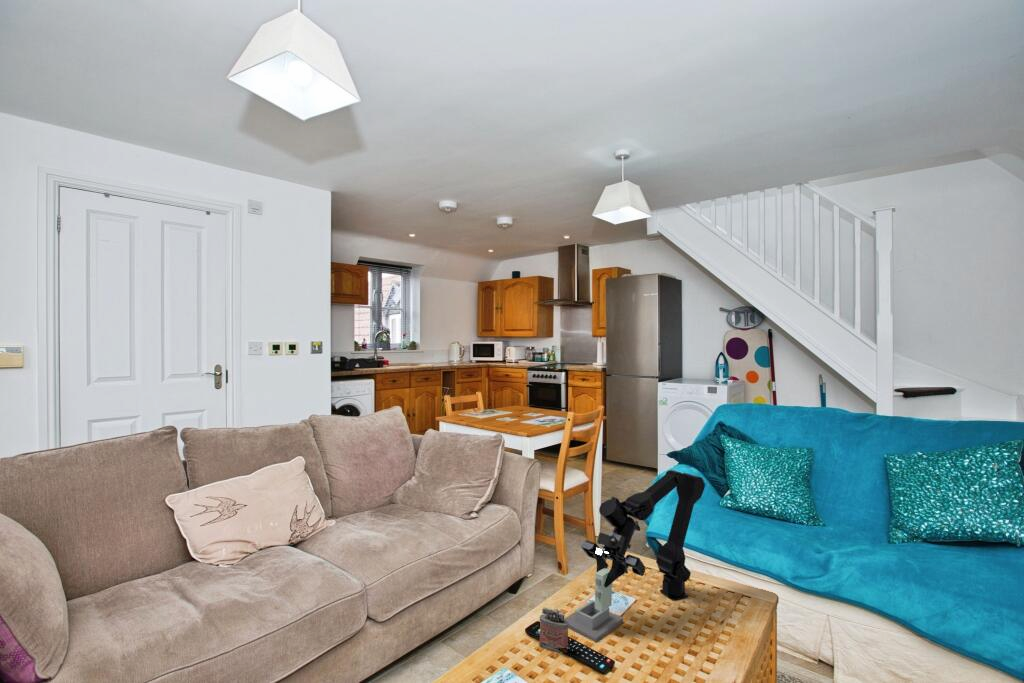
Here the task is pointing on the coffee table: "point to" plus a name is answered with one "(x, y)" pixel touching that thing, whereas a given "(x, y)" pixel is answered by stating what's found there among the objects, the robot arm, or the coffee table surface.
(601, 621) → the grey socket base
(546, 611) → the lighter
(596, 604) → the pale green rectangular block
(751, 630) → the coffee table surface
